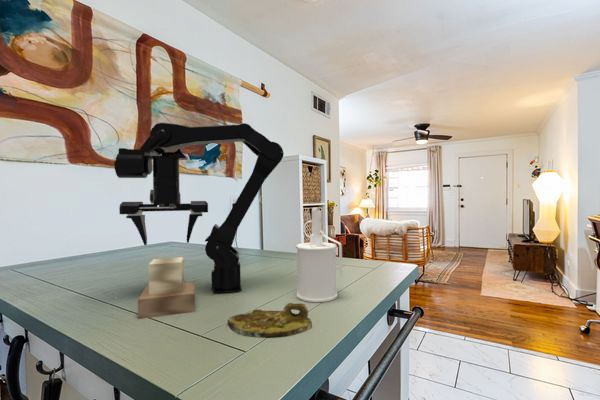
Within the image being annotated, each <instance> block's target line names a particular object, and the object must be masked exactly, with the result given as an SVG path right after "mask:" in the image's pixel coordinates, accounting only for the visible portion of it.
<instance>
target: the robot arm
mask: <svg viewBox="0 0 600 400" xmlns="http://www.w3.org/2000/svg"><path fill="white" fill-rule="evenodd" d="M238 142H239V143H240V142H241V143H243V144H244V145H245V146H246V147H247V148H248V149H249V151H251V152H252V153H253V154H254V155H255V156H256V157H257V158H256V160H255V161H256V162H255V164H254V166H253V170H252V172H251V174H250V176H249V178H248V180H247V182H246V183H245V185H244V187H243V188H242V190H241V192H240V193H239V195H238V197H237V199H236V201H235V203H234V204H233V206H232V207H231V210H230V212H229V213H228V214H227V217H226V218H225V220H224V222H223V223H221V225H220V226H219V225H218V224H214V225H213V226H212V227H211V228H212V229H211V230H210V231H211V232H210V234H209V235H208V236H207V237H206V238H205V240H204V242H206V244H205V248H204V250H205V254H206V256H207V257H208V258H209V259H211V260H212V261H213V263H214V264H213V269H212V270H211V275H210V276H211V289H212V290H213V294H221V293H222V294H223V293H232V292H242V289H243V288H242V286H241V279H242V278H241V277H242V276H241V262H240V261H239V260H240V253H239V251H238V250H237V249H236V248H235V247H234V246H233V244H234V242H235V238H236V235H237V231H238V229H239V226H240V225H241V223H242V221H243V220H244V218H245V216H246V214H247V212H248V210H249V209H250V207H251V205H252V204H253V202H254V200H255V198H256V197H257V195H258V193H259V191H260V189H261V188H262V186H263V185H264V182H265V181H266V180H267V178H268V177H269V176H270V175H271V173H272V172H273V171H274V170H275V168H276V167H278V165H279V164H280V163H281V161H283V157H284V150H283V147H282V146H281V145H280V144H279V143H278V142H276V141H272V140H269V138H267V137H266V136H265V135H263V134H262V133H260V132H259V131H257V130H255V129H254V128H253V127H252V126H251V125H250V124H248V123H243V122H242V123H239V124H226V125H225V124H224V125H206V126H187V125H182V124H177V123H169V122H159V123H156V124H154V126H153V127H151V130H150V133H149V136H148V138H147V139H146V140H145V141H144V143H143V144H142V145H141V146H140V148H139V149H130V148H126V147H125V148H124V147H123V148H121V147H119V148H118V153H117V155H116V157H115V160H114V162H113V163H114V165H113V166H114V172H115V174H116V176H117V178H119V179H123V178H124V179H147V177H148V175H152V179H153V180H152V189H150V192H149V201H150V203H144V201H122V202H121V203H120V204H119V211H118V212H119V215H126V216H125V217H126V219H131V221H132V222H133V225H134V226H135V227H136V229H137V231H138V233H139V236H140V238H141V240H142V242H143V244H144V246H147V245H148V236H147V235H148V234H147V227H146V215H145V214H143V212H178V211H179V212H181V211H182V212H183V211H186V212H187V211H188V212H190V213H189V215H188V223H187V231H186V232H187V233H186V243H187V244H189V243H190V240H191V236H192V232H193V229H194V227H195V224H196V222H197V219H198V218H199V217H203V213H209V203H208V201H206V200H191V201H190V203H181V192H180V161H187V160H189V158H188V156H186V155H185V154H184V152H183V150H184V149H185V148H188V147H193V146H195V145H208V144H209V145H210V144H224V143H225V144H226V143H238Z"/></svg>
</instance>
